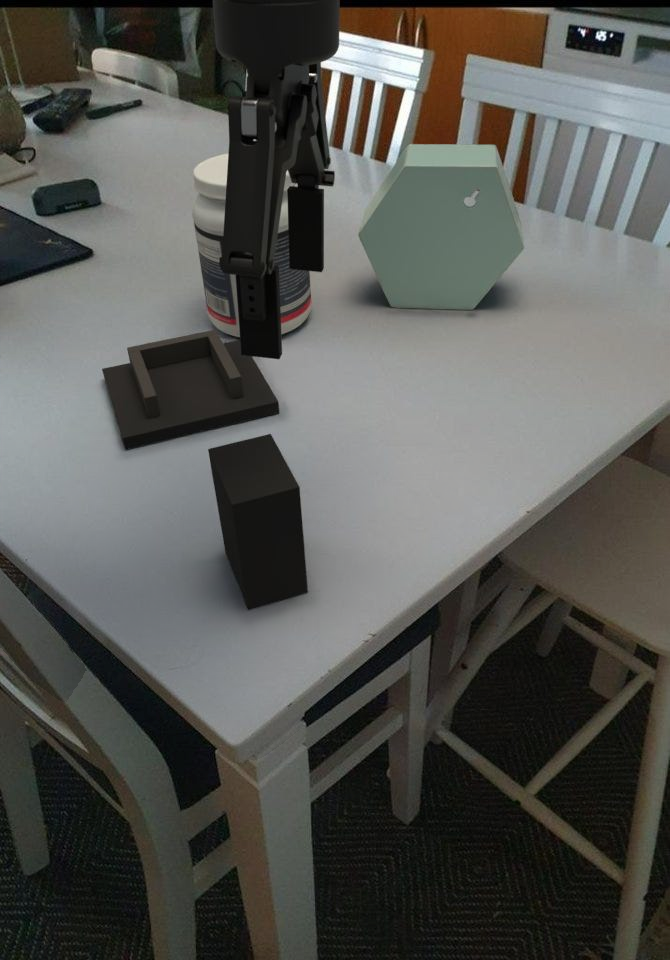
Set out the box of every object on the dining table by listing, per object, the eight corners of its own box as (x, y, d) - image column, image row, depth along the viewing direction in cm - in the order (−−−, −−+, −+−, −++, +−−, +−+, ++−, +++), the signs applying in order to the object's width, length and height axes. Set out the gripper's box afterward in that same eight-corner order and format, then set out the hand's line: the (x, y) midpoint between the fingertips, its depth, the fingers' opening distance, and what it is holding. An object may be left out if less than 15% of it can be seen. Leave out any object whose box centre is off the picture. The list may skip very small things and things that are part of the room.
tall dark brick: (247, 610, 63) (231, 504, 56) (225, 552, 68) (207, 448, 61) (308, 592, 64) (299, 486, 57) (281, 536, 69) (270, 433, 62)
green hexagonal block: (447, 313, 109) (551, 185, 97) (446, 342, 103) (557, 209, 91) (341, 245, 105) (436, 102, 92) (333, 270, 99) (434, 121, 86)
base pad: (125, 450, 80) (117, 417, 77) (104, 380, 90) (96, 348, 88) (279, 413, 84) (276, 380, 81) (243, 350, 94) (239, 319, 92)
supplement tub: (318, 295, 104) (311, 147, 93) (304, 345, 94) (294, 188, 83) (221, 293, 106) (201, 147, 94) (197, 342, 96) (171, 187, 84)
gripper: (285, 29, 37) (295, 407, 51) (374, -48, 56) (364, 244, 70) (131, 20, 38) (181, 392, 52) (269, -52, 57) (279, 236, 71)
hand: (286, 308), depth 61 cm, fingers open, 13 cm apart
